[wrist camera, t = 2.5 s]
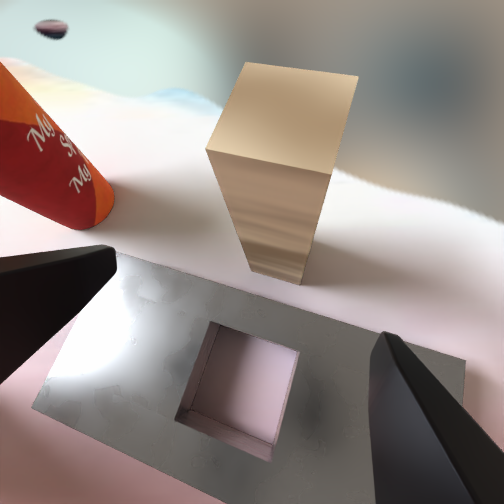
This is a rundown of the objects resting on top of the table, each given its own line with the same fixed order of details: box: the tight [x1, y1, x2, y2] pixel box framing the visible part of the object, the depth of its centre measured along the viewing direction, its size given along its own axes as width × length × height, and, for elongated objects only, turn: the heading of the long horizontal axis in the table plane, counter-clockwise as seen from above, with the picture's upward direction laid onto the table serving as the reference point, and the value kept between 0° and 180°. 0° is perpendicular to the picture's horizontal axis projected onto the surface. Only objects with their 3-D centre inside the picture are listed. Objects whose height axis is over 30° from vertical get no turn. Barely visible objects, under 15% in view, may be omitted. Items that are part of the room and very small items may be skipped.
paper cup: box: [0, 62, 115, 230], centre depth 19 cm, size 8×8×14 cm
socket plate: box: [31, 252, 466, 504], centre depth 17 cm, size 11×24×3 cm, turn 71°
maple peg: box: [205, 62, 358, 285], centre depth 15 cm, size 4×4×14 cm
